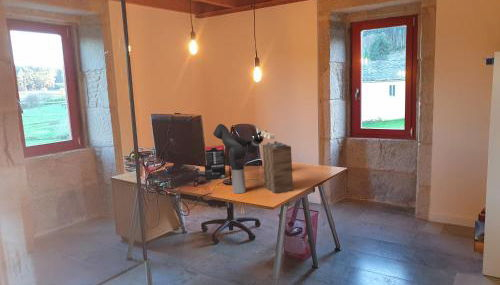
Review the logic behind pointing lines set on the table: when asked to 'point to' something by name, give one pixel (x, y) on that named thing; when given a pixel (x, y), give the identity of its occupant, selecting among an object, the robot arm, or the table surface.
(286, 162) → the walnut cabinet
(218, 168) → the graphics card box
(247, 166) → the table surface
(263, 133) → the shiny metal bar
